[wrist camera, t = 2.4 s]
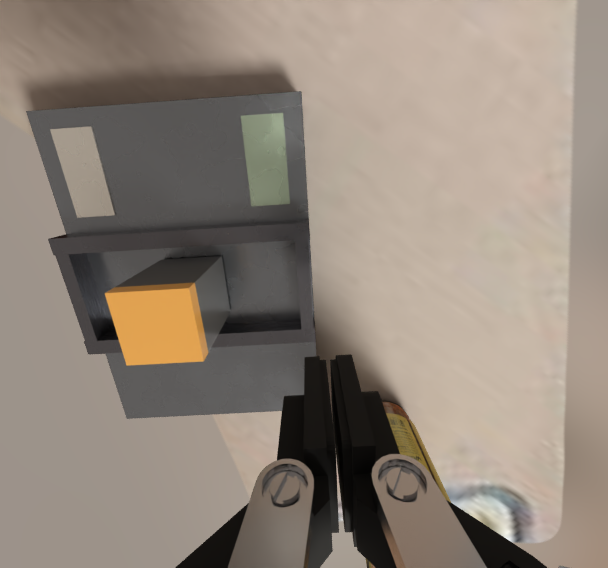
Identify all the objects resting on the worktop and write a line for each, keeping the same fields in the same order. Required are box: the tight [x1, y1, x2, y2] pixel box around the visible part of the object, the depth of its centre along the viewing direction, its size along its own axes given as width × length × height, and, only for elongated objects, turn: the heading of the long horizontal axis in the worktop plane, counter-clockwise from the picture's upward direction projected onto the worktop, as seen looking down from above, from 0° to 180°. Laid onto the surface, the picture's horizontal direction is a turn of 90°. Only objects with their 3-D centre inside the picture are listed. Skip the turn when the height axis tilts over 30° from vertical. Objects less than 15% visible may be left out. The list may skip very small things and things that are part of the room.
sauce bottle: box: [366, 402, 451, 568], centre depth 18 cm, size 7×6×20 cm
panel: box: [26, 91, 316, 419], centre depth 21 cm, size 22×16×4 cm
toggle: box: [105, 256, 230, 366], centre depth 18 cm, size 4×4×6 cm
